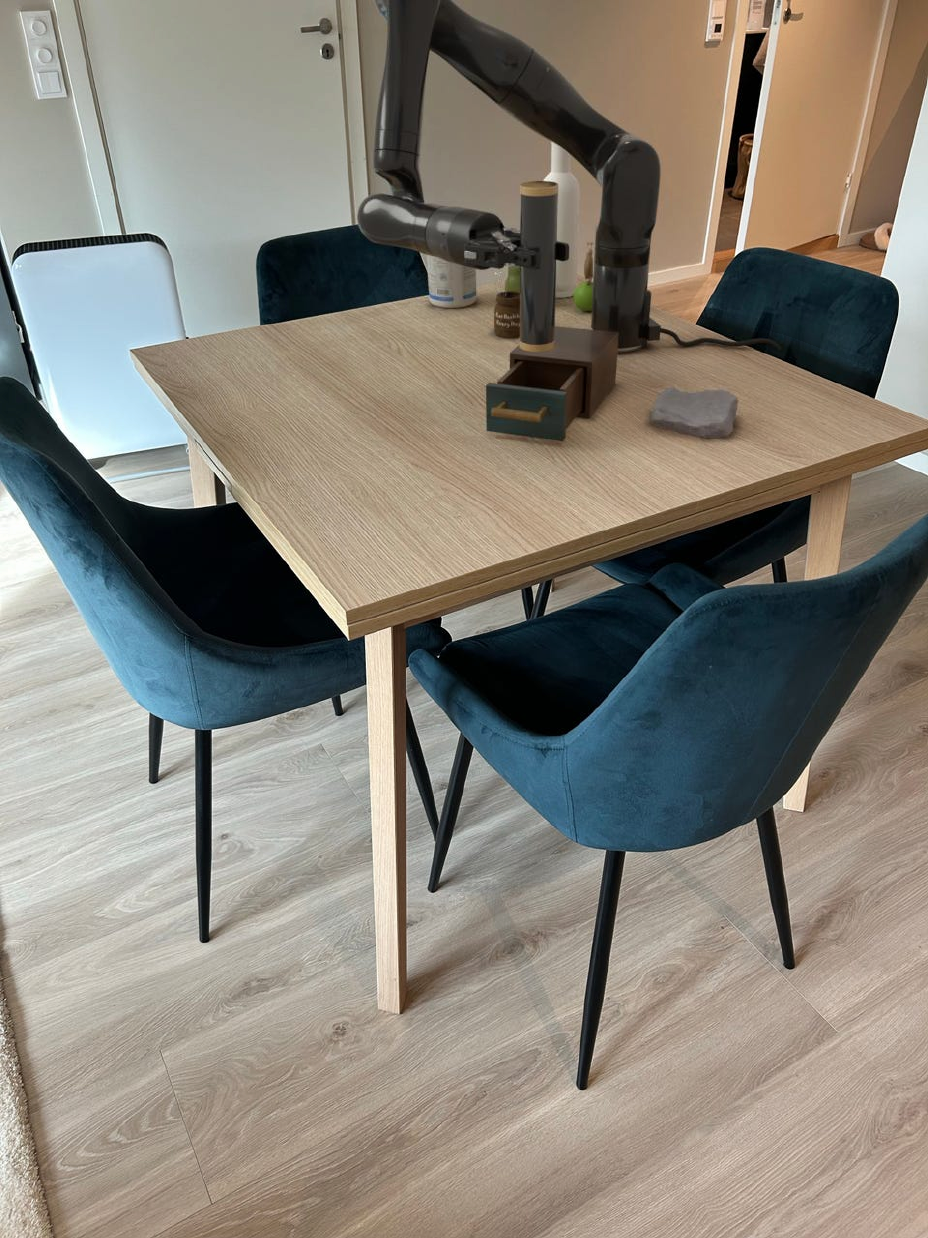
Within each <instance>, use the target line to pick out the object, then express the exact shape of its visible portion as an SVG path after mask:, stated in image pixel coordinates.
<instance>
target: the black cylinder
mask: <svg viewBox="0 0 928 1238" xmlns="http://www.w3.org/2000/svg"><path fill="white" fill-rule="evenodd" d="M519 193H520V197H519V201H520V202H519V203H520V204H519V205H520V206H519V208H520V209H519V213H520V214H519V230H520V247H523V248H527V249H532V250H536V251H539V252H540V254H541V266H540V268H539V269H535V270H534V269H530V268H526V267H522V266H520V337H519V341H518V342H519V344H518V346H519V347H520V348H521V349H522V350H525V351H529V352H544V351H549V350H551V349H553V348H554V346H555V339H554V333H555V326H556V325H555V324H556V298H555V292H556V251H557V209H558V183H556V182H551V181H543V180H531V181H526V182H523V183H520V185H519Z"/></svg>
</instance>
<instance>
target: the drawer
mask: <svg viewBox="0 0 928 1238" xmlns="http://www.w3.org/2000/svg"><path fill="white" fill-rule="evenodd" d="M586 376H587V367H583V366H574V365H565V364H556V363H547V362H538V361H528V360H519V361H518V362H517V363H516V364H515V365H514V366H513V367H512V368H511V369H510V368H509V369H508V370H507V371H506V372H505V373H504V374H503V375H502V376H501V377H500V378H499V379H498V380H497V381H496V382H488V383H487V384H486V385H485V412H486V413H485V418H486V419H485V420H486V432H489V433H496V434H503V435H511V436H518V437H527V438H533V439H542V440H548V441H555V442H564V441H565V440H566V437H567V435H566V434H567V429H568V428H569V426H571V424H572V423H573V421H574V420H575V419H576V418H577V417H576V416H577V415H578V414H579V413H580V411H581V410H582V409H583V408H584V406H585V398H586Z"/></svg>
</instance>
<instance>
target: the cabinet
mask: <svg viewBox="0 0 928 1238" xmlns="http://www.w3.org/2000/svg"><path fill="white" fill-rule="evenodd" d="M618 335H619V332H610V331H600V330H590V329H589V328H588V329H587V328H580V327H579V328H577V327H567V326H558V325H557V326H556V325H555V333H554V339H555V346H554V348H553V349H551V350H549V351H544V352H529V351H525V350H522V349H521V348H520V347H519V345H517V346H516V347H515V348H513V350H512V351H510V353H509V370H510V369H511V368H512V367H513V366H514V365H515V364H516V363H517V362H518V361H519V360H528V361H538V362H547V363H556V364H565V365H574V366H583V367H587V376H586V398H585V406H584V408H583V409H582V410H581V411H580V413H579V414H578V415H577V416H576V418H579V419H586V420H590V419H591V418H592V416H593V415H594V414H595V413H596V411H597V410H598V409H599V407H601V405H602V403H603V402H604V401H605V400H606V398H608V396H609V395H610V394H611V392H612V391H613V389H614V388H615V387H616V381H617V366H618V365H617V363H618V353H617V351H618Z"/></svg>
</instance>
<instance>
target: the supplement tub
mask: <svg viewBox="0 0 928 1238" xmlns="http://www.w3.org/2000/svg"><path fill="white" fill-rule="evenodd" d="M426 264H427V282H428V283H427V284H428V295H429V296H428V297H429V302H430V303H431V304H432V305H433V306H435V307H438V308H443V309H458V308H464V307H467V306H471V305H473V304H474V303H475V302H476V300H477V297H478V296H477V269H475V268H471V267H467V266H463V265H459V264H455V263H451V262H448V261H445V260H443V259H441V258H438V257H434V256H430V255H427V254H426Z"/></svg>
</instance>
